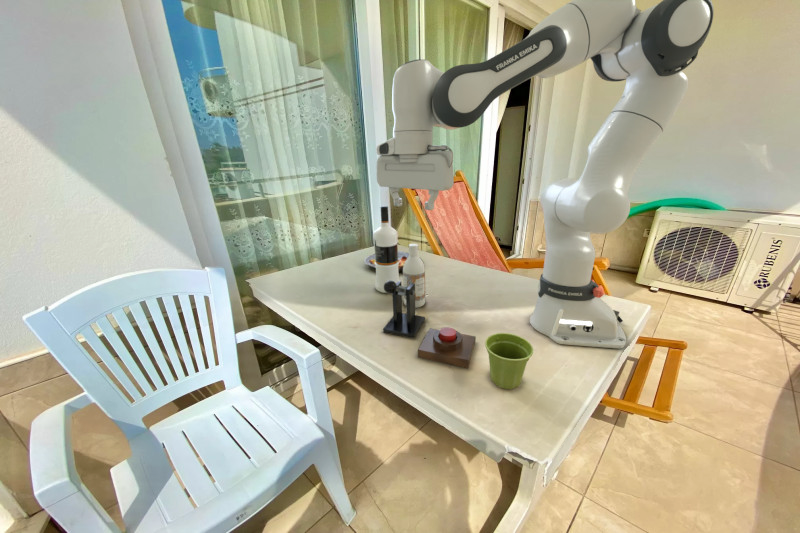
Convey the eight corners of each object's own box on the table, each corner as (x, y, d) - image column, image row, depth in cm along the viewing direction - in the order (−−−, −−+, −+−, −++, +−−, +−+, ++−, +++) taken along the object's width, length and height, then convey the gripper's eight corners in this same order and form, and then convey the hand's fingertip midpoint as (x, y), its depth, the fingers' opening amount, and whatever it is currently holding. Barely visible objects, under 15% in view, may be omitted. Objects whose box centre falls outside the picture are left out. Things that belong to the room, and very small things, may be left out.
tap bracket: (413, 338, 80) (413, 295, 76) (383, 332, 84) (380, 290, 79) (425, 320, 89) (425, 280, 85) (396, 315, 92) (395, 276, 88)
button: (457, 334, 75) (457, 328, 74) (454, 343, 72) (454, 337, 71) (441, 331, 76) (441, 325, 76) (437, 340, 73) (437, 334, 72)
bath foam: (412, 310, 95) (410, 249, 88) (399, 302, 100) (397, 244, 93) (429, 304, 98) (429, 245, 91) (416, 296, 104) (415, 240, 97)
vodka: (401, 293, 107) (399, 207, 96) (375, 294, 106) (369, 209, 96) (399, 282, 115) (396, 203, 105) (375, 284, 115) (370, 204, 104)
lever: (392, 293, 71) (395, 280, 71) (380, 292, 72) (382, 278, 73) (410, 298, 83) (411, 286, 83) (399, 296, 84) (401, 285, 85)
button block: (475, 343, 77) (475, 330, 76) (468, 368, 69) (468, 353, 67) (429, 335, 82) (429, 322, 80) (418, 357, 73) (417, 343, 72)
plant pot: (479, 389, 63) (482, 354, 59) (484, 361, 71) (487, 329, 68) (528, 400, 59) (534, 364, 56) (528, 370, 68) (532, 337, 64)
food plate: (432, 263, 134) (432, 256, 133) (395, 279, 118) (395, 271, 117) (392, 252, 150) (391, 245, 149) (355, 265, 135) (354, 258, 133)
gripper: (460, 144, 64) (457, 209, 69) (388, 147, 77) (390, 202, 81) (445, 144, 60) (442, 214, 65) (371, 147, 72) (373, 205, 77)
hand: (413, 207), depth 73 cm, fingers open, 8 cm apart
